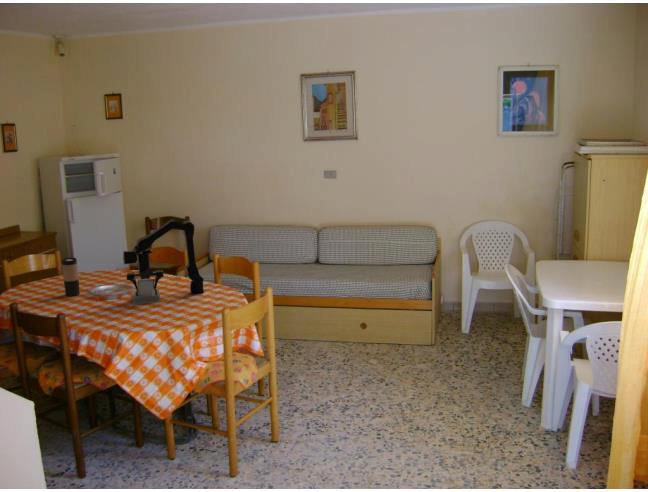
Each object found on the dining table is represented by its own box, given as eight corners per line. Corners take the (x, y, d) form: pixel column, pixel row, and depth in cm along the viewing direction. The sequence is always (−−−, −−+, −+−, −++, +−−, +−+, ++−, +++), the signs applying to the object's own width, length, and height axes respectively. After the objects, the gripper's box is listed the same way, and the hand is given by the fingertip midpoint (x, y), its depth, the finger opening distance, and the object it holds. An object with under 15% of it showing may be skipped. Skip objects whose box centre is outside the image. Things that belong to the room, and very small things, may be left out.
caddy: (159, 293, 363) (159, 288, 362) (160, 301, 348) (160, 296, 347) (133, 295, 359) (132, 290, 359) (133, 304, 344) (132, 298, 344)
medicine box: (155, 294, 355) (154, 278, 353) (152, 297, 351) (151, 281, 349) (140, 294, 356) (140, 278, 354) (138, 296, 351) (137, 280, 349)
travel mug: (62, 295, 362) (58, 260, 357) (73, 292, 368) (69, 257, 364) (72, 297, 358) (68, 261, 354) (83, 293, 365) (79, 258, 360)
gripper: (125, 267, 339) (128, 296, 343) (162, 264, 344) (165, 293, 347) (125, 262, 350) (128, 290, 353) (162, 259, 354) (164, 287, 358)
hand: (146, 290), depth 353 cm, fingers closed on medicine box, 9 cm apart
